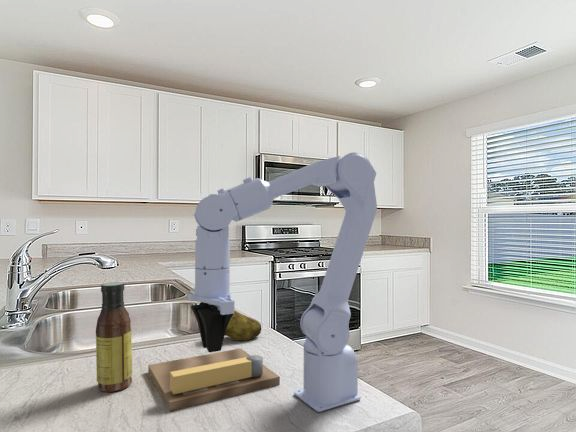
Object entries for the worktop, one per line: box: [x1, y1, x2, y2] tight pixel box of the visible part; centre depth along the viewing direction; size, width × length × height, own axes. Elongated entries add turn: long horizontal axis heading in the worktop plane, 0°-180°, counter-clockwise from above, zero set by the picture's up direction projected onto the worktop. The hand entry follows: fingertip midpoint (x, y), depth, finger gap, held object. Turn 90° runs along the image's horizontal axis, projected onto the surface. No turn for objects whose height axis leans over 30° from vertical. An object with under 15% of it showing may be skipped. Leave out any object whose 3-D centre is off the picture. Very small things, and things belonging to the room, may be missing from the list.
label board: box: [147, 348, 281, 412], centre depth 76 cm, size 21×19×2 cm
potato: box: [224, 309, 262, 341], centre depth 102 cm, size 8×13×8 cm, turn 82°
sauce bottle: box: [95, 281, 133, 393], centre depth 72 cm, size 7×6×20 cm
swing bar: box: [170, 354, 264, 394], centre depth 71 cm, size 18×3×3 cm, turn 121°
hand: (211, 348), depth 63 cm, fingers closed
